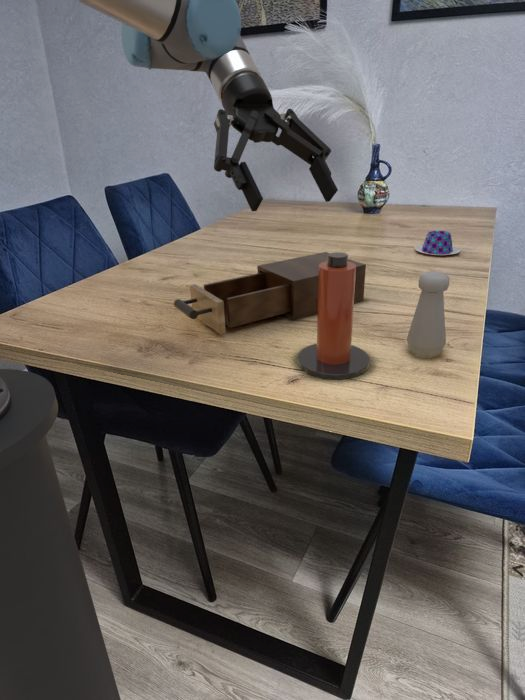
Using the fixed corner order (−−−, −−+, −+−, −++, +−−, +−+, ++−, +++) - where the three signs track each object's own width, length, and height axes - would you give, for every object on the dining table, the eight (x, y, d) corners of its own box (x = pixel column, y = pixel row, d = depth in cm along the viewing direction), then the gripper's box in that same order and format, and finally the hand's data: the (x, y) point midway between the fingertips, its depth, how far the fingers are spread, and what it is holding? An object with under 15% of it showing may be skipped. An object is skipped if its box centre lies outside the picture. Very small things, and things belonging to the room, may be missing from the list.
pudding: (462, 258, 122) (466, 238, 120) (414, 256, 125) (416, 236, 123) (457, 247, 133) (460, 228, 130) (413, 245, 136) (415, 227, 133)
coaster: (285, 370, 71) (285, 365, 70) (313, 341, 79) (313, 337, 79) (356, 386, 66) (356, 381, 66) (377, 354, 75) (378, 349, 74)
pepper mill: (311, 361, 72) (313, 257, 64) (323, 347, 76) (326, 248, 69) (343, 367, 69) (349, 261, 62) (354, 353, 73) (361, 252, 66)
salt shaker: (440, 345, 77) (452, 268, 71) (447, 362, 72) (460, 279, 66) (403, 344, 78) (412, 267, 72) (407, 359, 73) (417, 278, 67)
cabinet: (293, 320, 88) (293, 281, 85) (258, 301, 98) (257, 265, 95) (363, 300, 96) (366, 264, 93) (324, 285, 106) (325, 251, 103)
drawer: (197, 340, 79) (193, 308, 77) (171, 319, 88) (167, 289, 85) (297, 313, 89) (297, 283, 86) (265, 296, 98) (264, 269, 95)
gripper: (295, 110, 84) (347, 207, 79) (163, 111, 72) (214, 226, 67) (314, 73, 78) (372, 176, 73) (173, 68, 66) (230, 191, 61)
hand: (296, 200), depth 70 cm, fingers open, 13 cm apart
